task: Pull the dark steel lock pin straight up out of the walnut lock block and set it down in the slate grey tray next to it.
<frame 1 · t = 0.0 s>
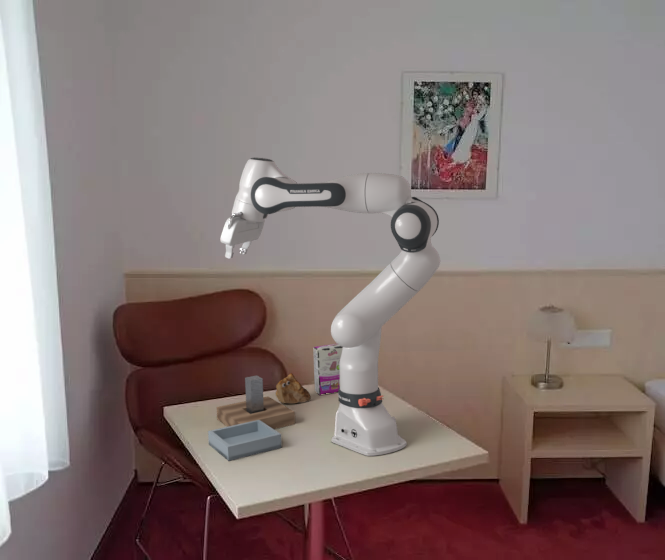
hand: (235, 255, 206), 52 cm above the table, tool tilted 20°, fingers open, 8 cm apart
decorative rock: (292, 403, 233), on the table
lock block: (255, 421, 216), on the table
candy bar box: (331, 392, 244), on the table
tray: (244, 446, 197), on the table
lock pin: (254, 400, 215), in the lock block
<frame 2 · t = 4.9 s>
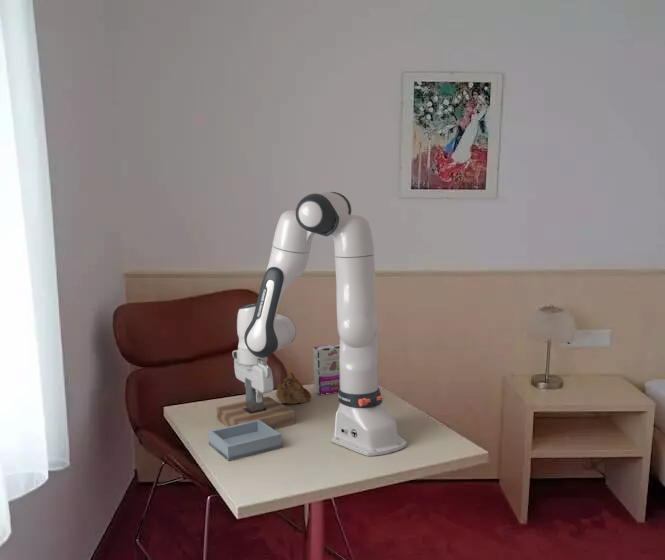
hand: (254, 399, 215), 7 cm above the table, tool pointing down, fingers closed on lock pin, 4 cm apart
lock pin: (254, 400, 215), in the lock block, touching gripper
everything else where it was.
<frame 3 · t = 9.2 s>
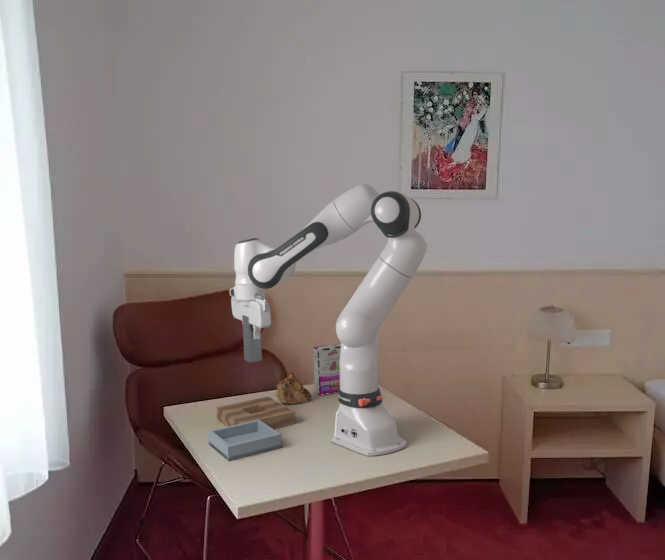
hand: (252, 337, 212), 27 cm above the table, tool pointing down, fingers closed on lock pin, 4 cm apart
lock pin: (252, 337, 212), point 27 cm above the table, touching gripper
everything else where it was.
when the fingers open (10 cm above the table, at t = 13.6 s): lock pin drops 2 cm, resting on tray.
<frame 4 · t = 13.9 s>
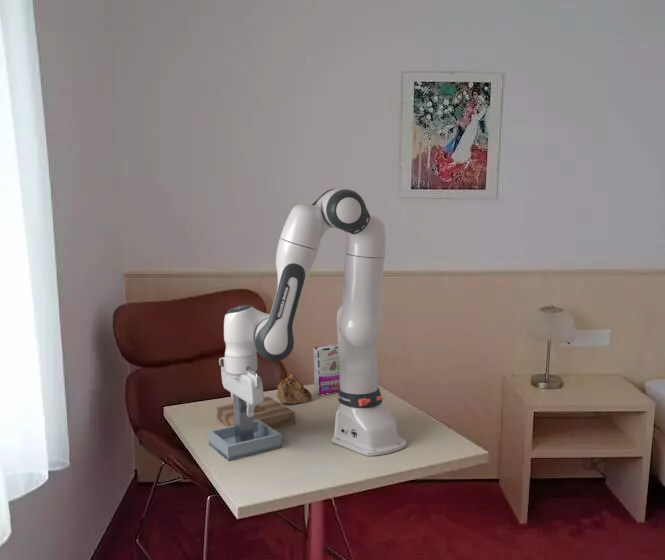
hand: (243, 411, 195), 10 cm above the table, tool pointing down, fingers open, 7 cm apart
lock pin: (243, 418, 196), in the tray, point 8 cm above the table
everything else where it was.
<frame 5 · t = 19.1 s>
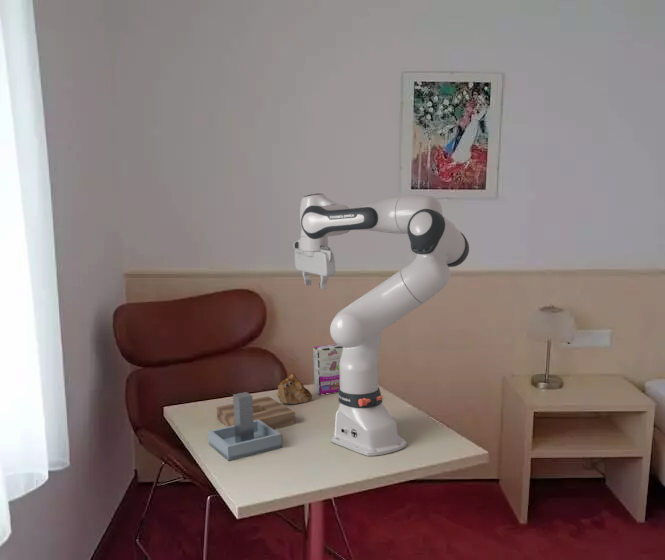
hand: (315, 287, 226), 39 cm above the table, tool pointing down, fingers open, 8 cm apart
nothing on the table moved.
at the end: lock pin inside the target area on the tray (0.1 cm from its centre), point 8.0 cm above the tray's base; lock pin moved 19.6 cm from its start; the gripper is holding nothing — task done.
